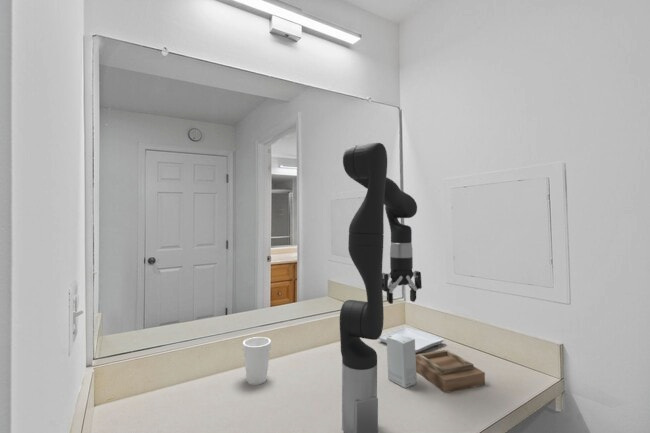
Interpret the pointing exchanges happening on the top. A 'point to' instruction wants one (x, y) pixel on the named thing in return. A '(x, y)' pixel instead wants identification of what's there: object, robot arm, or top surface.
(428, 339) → the salad plate
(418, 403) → the top surface
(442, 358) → the block
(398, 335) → the skincare box
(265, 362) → the foam cup
